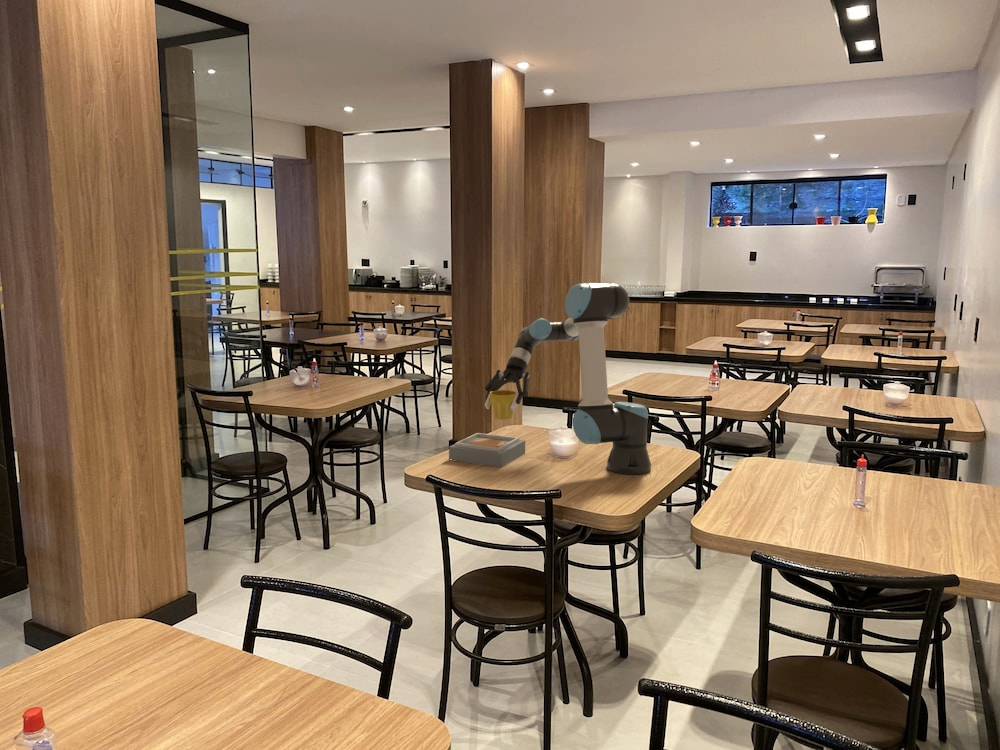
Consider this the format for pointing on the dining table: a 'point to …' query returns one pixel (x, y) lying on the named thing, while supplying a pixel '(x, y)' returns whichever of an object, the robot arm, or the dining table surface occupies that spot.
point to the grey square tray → (487, 449)
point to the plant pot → (502, 403)
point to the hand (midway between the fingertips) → (499, 408)
